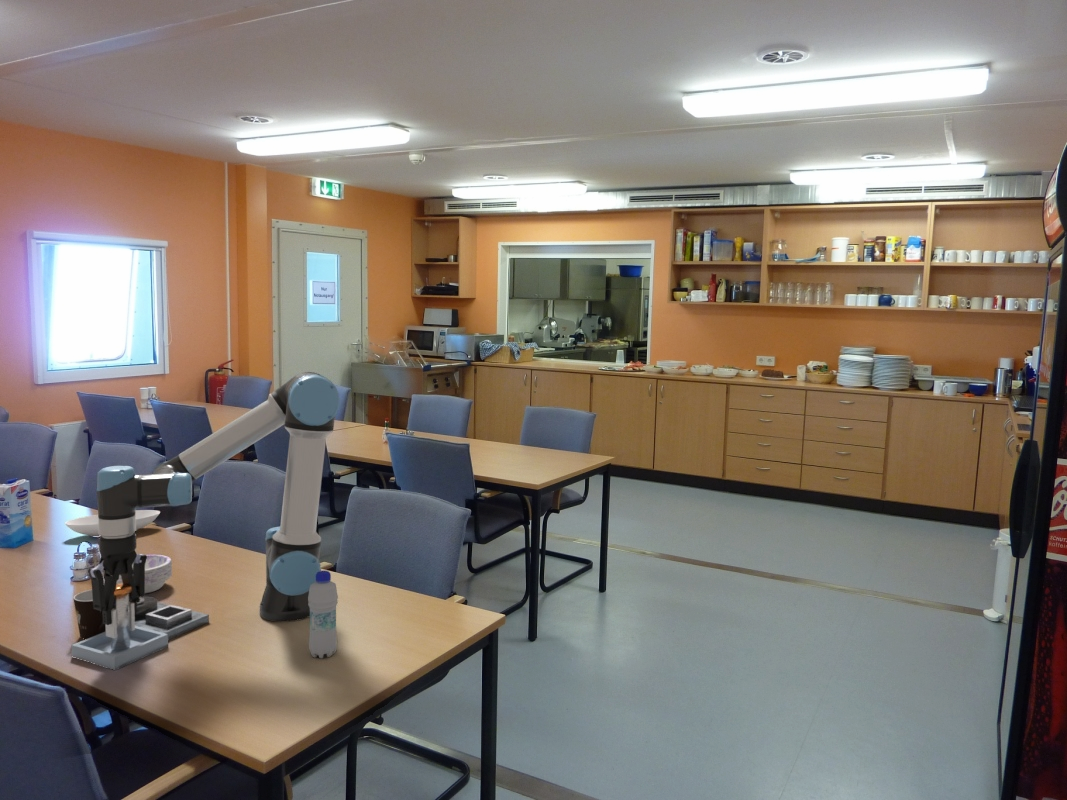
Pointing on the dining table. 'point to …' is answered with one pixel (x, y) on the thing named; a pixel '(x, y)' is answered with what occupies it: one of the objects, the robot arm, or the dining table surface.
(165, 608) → the plate
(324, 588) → the bottle
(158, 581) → the paper bowls
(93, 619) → the coffee mug
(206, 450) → the robot arm
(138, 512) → the bowl
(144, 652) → the tray
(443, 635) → the dining table surface
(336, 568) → the dining table surface
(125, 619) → the pin
